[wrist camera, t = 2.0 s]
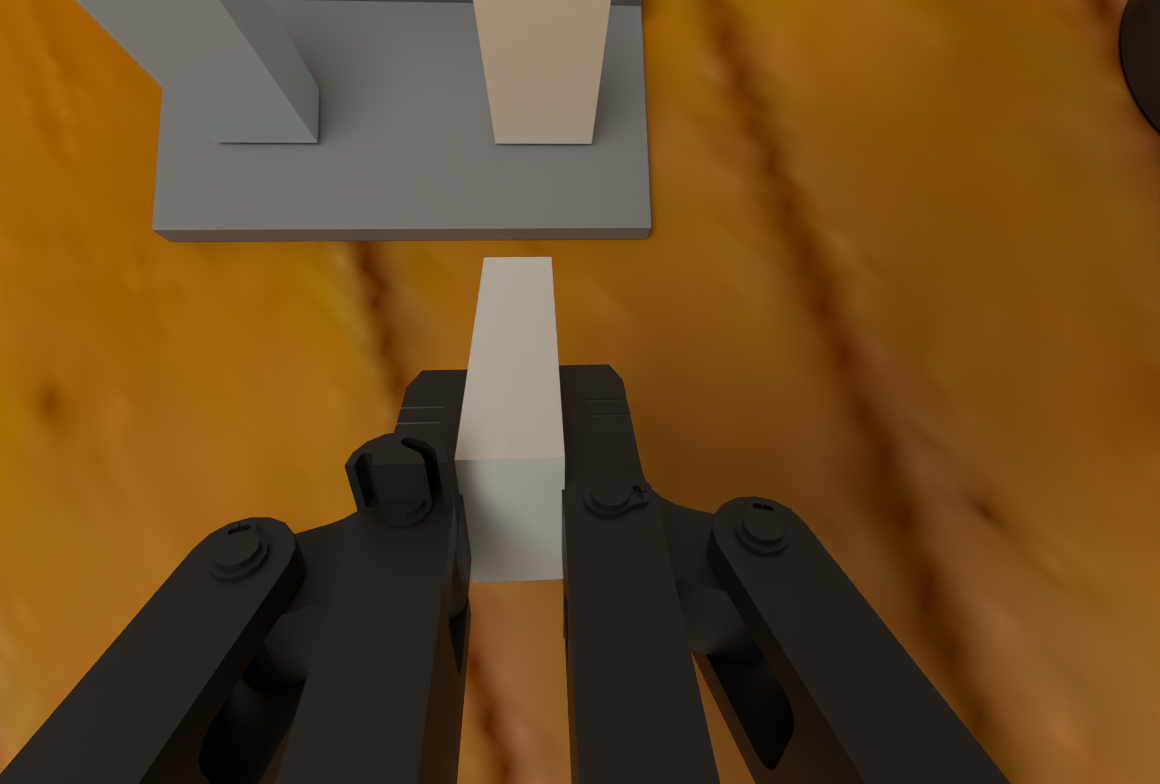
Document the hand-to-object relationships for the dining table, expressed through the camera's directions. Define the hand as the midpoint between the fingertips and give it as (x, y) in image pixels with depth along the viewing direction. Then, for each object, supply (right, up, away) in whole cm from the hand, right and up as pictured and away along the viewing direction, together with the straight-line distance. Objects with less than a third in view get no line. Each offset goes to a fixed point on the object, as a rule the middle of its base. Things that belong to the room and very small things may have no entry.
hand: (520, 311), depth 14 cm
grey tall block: (-15, +12, +17) cm, 25 cm away
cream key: (-1, +13, +17) cm, 21 cm away
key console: (-8, +14, +19) cm, 25 cm away
